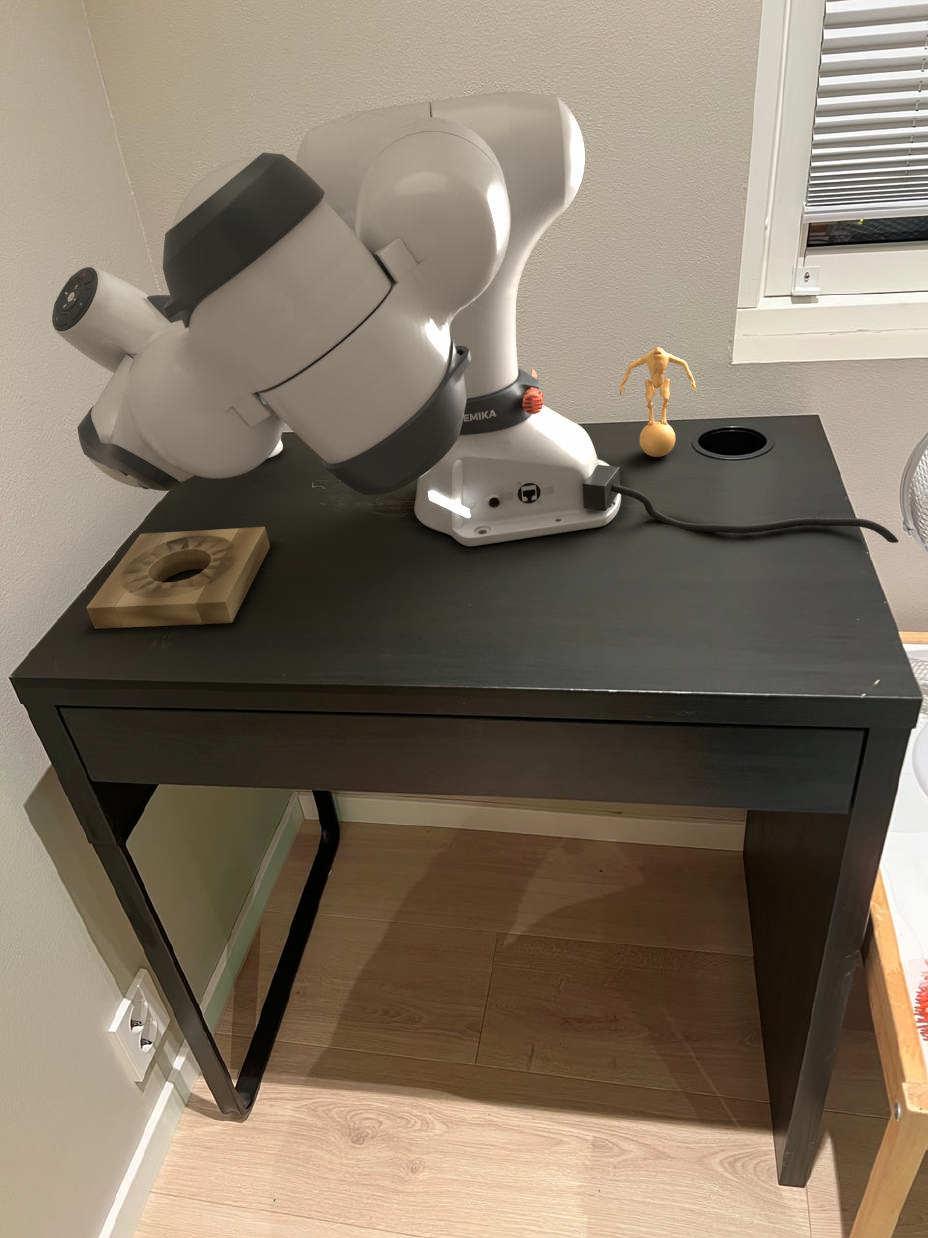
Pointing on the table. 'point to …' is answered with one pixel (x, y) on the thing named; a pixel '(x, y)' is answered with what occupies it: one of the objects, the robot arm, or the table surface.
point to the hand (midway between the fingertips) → (257, 413)
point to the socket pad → (192, 601)
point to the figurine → (659, 434)
